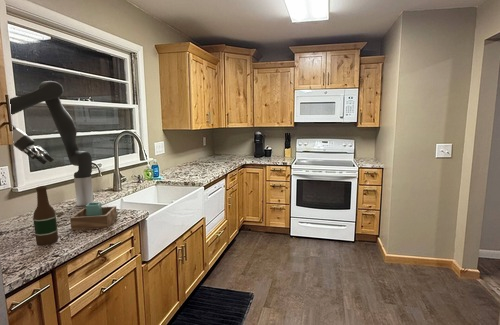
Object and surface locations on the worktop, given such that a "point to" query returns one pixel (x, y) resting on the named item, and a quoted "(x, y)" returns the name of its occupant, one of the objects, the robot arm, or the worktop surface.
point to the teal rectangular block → (94, 209)
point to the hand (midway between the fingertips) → (49, 161)
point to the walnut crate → (93, 219)
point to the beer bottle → (44, 219)
